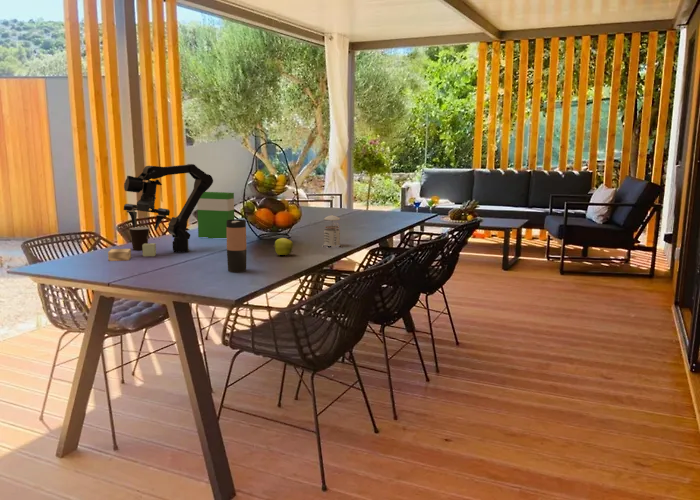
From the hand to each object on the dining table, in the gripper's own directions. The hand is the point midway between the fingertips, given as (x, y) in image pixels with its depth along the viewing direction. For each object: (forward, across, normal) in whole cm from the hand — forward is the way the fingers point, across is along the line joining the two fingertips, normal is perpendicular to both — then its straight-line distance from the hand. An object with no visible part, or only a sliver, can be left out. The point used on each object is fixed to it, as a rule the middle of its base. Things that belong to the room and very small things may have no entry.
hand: (144, 229), depth 264 cm
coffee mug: (+11, -5, +17) cm, 21 cm away
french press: (-2, +84, +28) cm, 89 cm away
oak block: (+14, -6, -8) cm, 17 cm away
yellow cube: (+12, +3, +1) cm, 12 cm away
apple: (+4, +62, +2) cm, 62 cm away
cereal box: (+4, +22, +54) cm, 59 cm away
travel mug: (+9, +47, -31) cm, 57 cm away
